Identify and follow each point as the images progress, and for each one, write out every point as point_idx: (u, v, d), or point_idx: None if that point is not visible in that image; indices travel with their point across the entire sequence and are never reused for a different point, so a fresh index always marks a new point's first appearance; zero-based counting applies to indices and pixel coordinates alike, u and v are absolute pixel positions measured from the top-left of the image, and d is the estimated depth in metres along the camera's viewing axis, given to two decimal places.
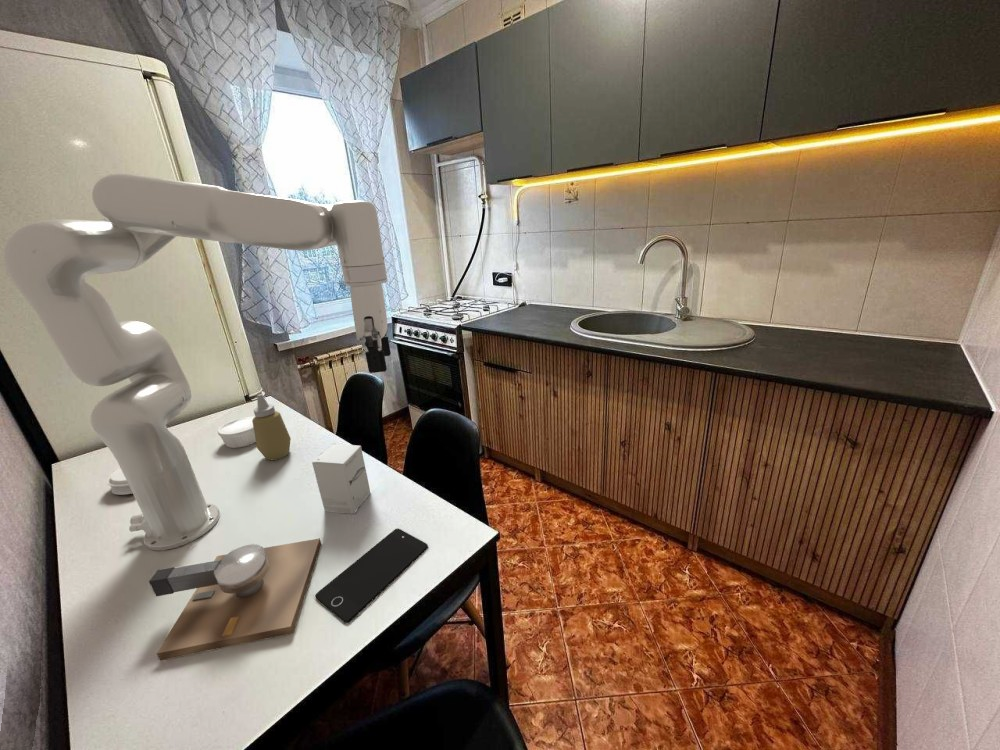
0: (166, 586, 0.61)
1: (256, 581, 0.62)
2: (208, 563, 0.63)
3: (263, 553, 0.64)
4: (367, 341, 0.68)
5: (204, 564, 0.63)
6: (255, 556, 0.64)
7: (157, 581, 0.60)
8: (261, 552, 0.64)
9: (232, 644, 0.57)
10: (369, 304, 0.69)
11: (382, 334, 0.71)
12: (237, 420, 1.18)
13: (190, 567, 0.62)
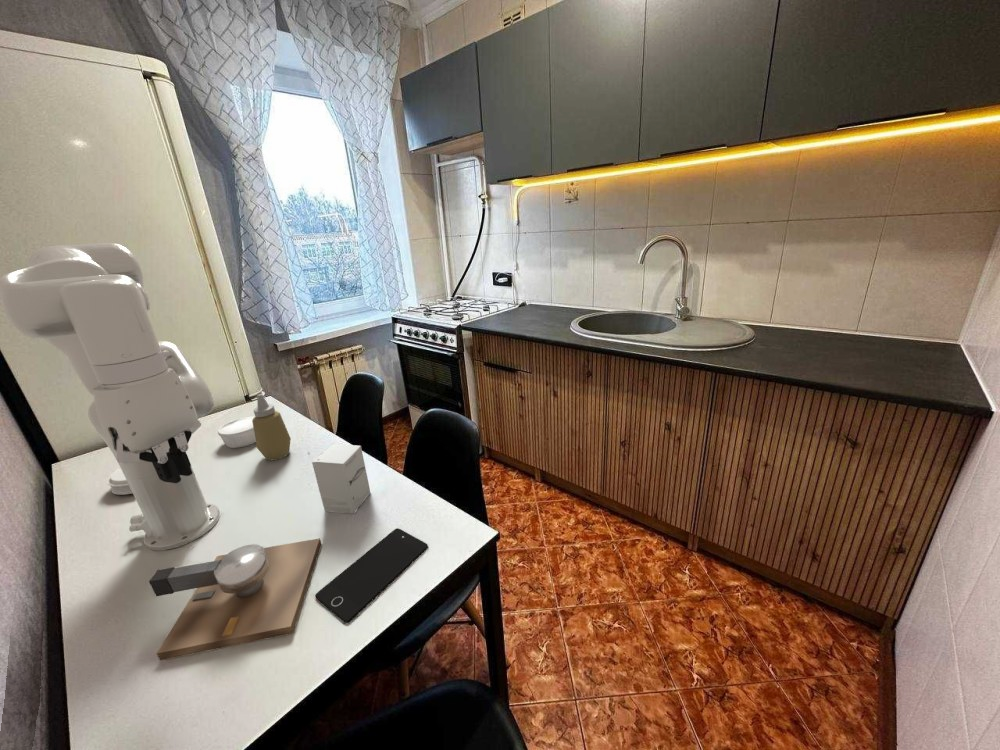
0: (166, 586, 0.61)
1: (256, 581, 0.62)
2: (208, 563, 0.63)
3: (263, 553, 0.64)
4: None
5: (204, 564, 0.63)
6: (255, 556, 0.64)
7: (157, 581, 0.60)
8: (261, 552, 0.64)
9: (232, 644, 0.57)
10: (109, 413, 0.52)
11: (135, 449, 0.54)
12: (237, 420, 1.18)
13: (190, 567, 0.62)
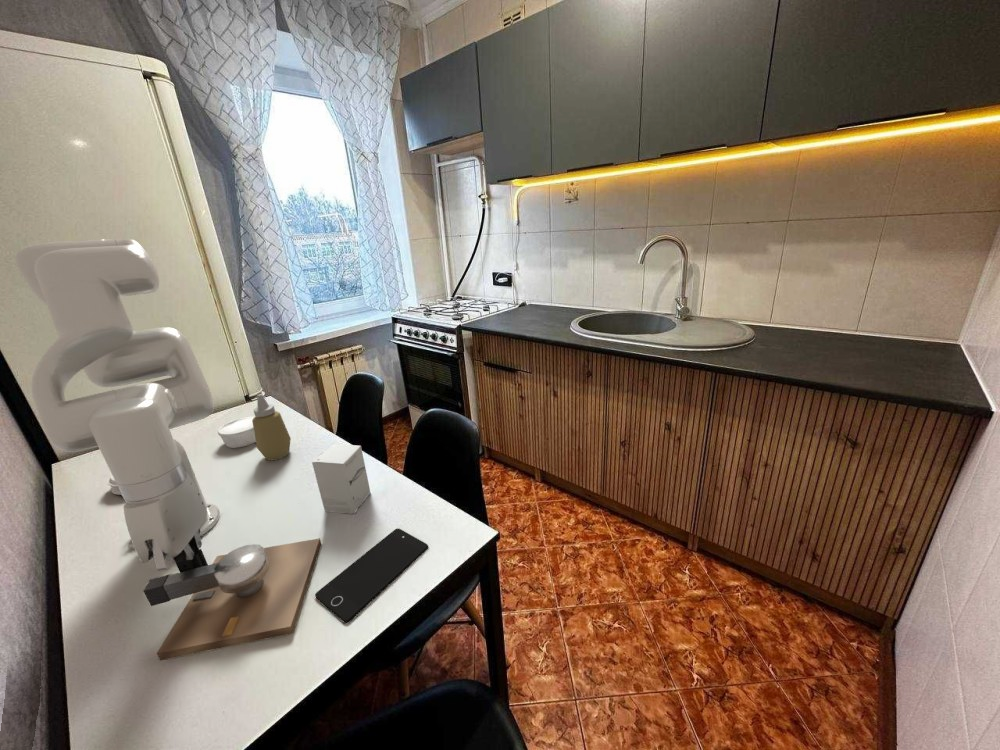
0: (162, 595, 0.60)
1: (259, 579, 0.63)
2: (205, 567, 0.62)
3: (263, 551, 0.65)
4: None
5: (201, 568, 0.62)
6: (255, 555, 0.64)
7: (152, 590, 0.59)
8: (261, 551, 0.65)
9: (232, 644, 0.57)
10: (149, 526, 0.55)
11: (174, 554, 0.58)
12: (237, 420, 1.18)
13: (186, 573, 0.61)
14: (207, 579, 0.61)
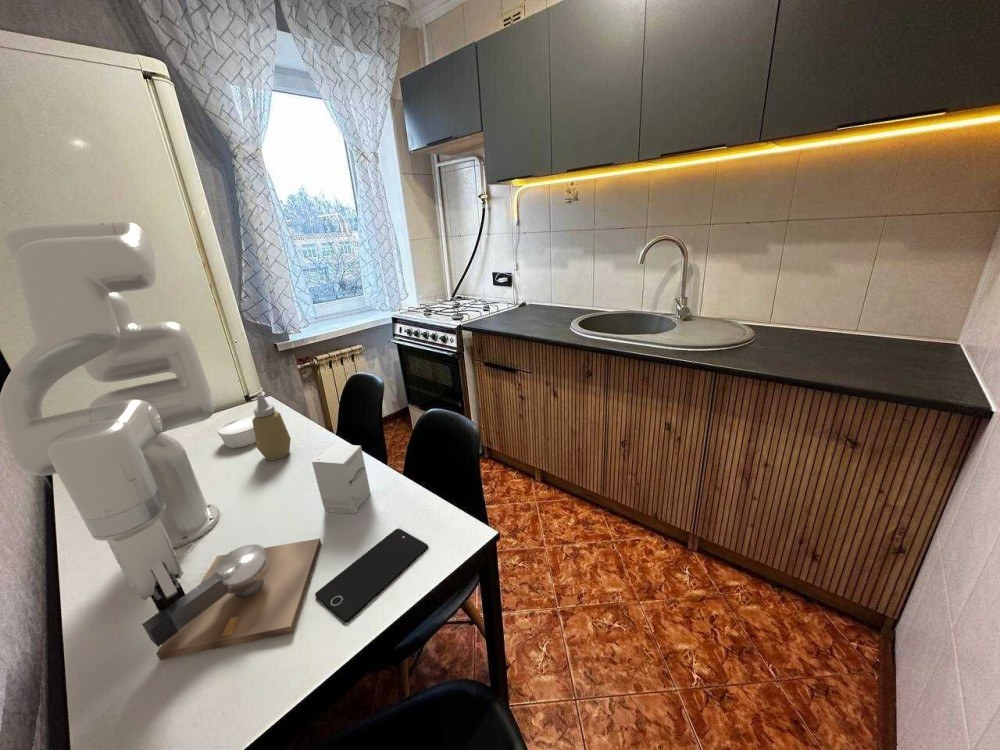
0: (170, 627, 0.55)
1: (268, 566, 0.65)
2: (204, 582, 0.59)
3: (256, 545, 0.66)
4: None
5: (200, 585, 0.59)
6: (251, 550, 0.65)
7: (159, 625, 0.53)
8: (254, 546, 0.66)
9: (232, 644, 0.57)
10: (156, 549, 0.51)
11: (182, 573, 0.55)
12: (237, 420, 1.18)
13: (186, 597, 0.57)
14: (215, 590, 0.59)
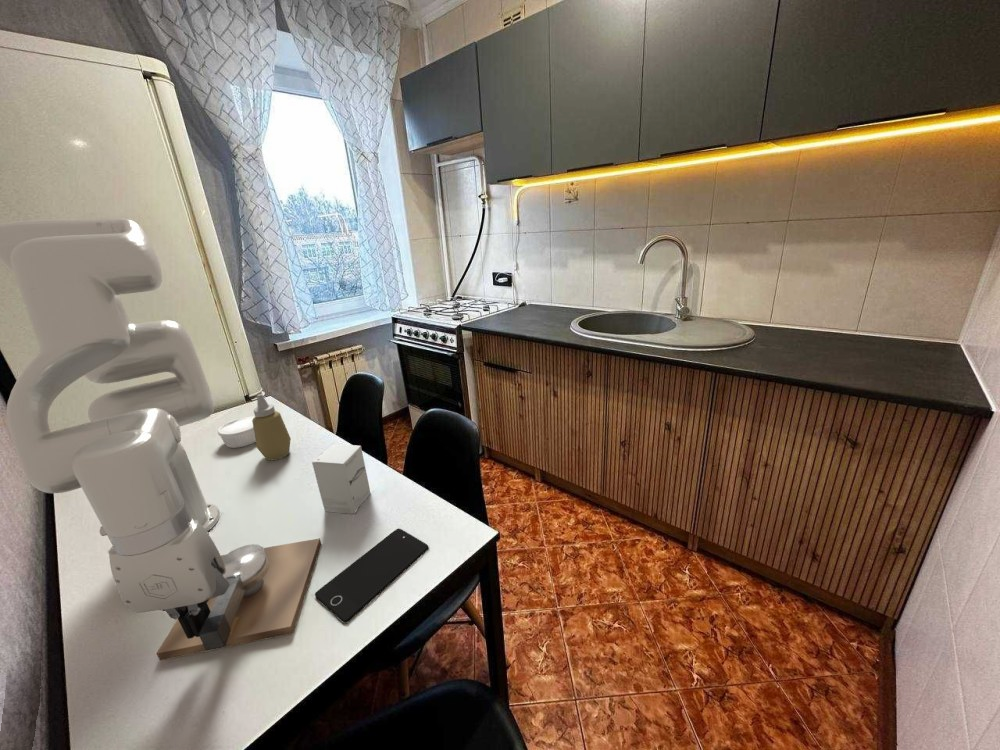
0: (226, 626, 0.54)
1: None
2: None
3: (240, 547, 0.66)
4: None
5: None
6: (241, 551, 0.65)
7: (221, 624, 0.53)
8: (239, 549, 0.65)
9: (232, 644, 0.57)
10: (208, 544, 0.52)
11: (224, 568, 0.55)
12: (237, 420, 1.18)
13: (219, 601, 0.56)
14: (239, 587, 0.60)
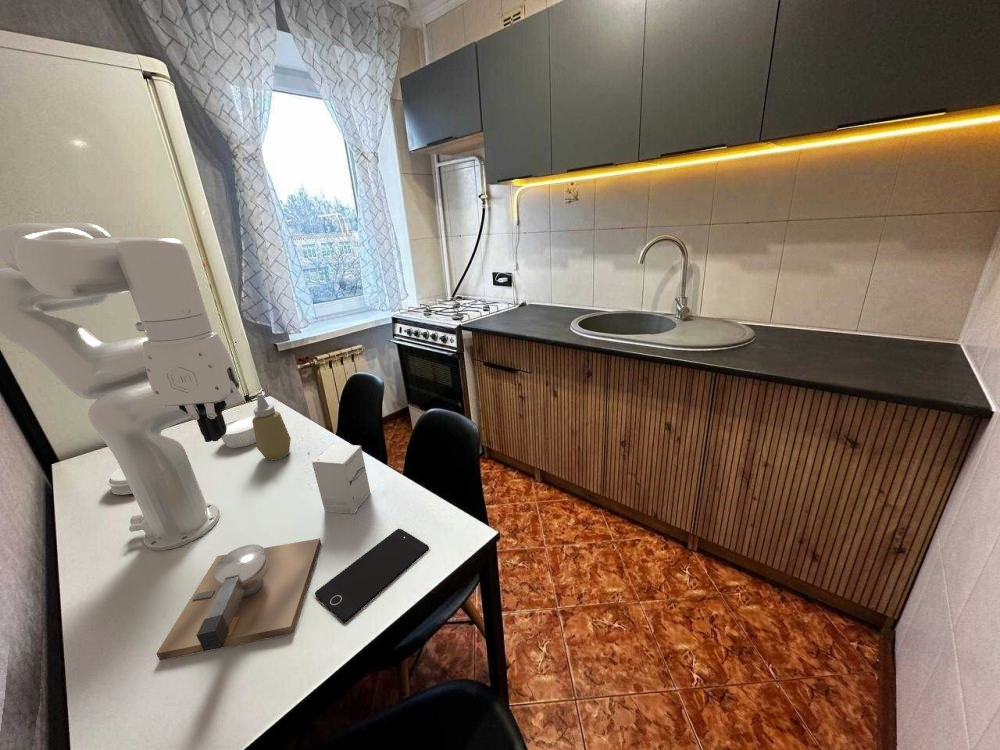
0: (224, 627, 0.54)
1: None
2: (223, 587, 0.58)
3: (241, 547, 0.66)
4: (230, 404, 0.62)
5: (222, 590, 0.58)
6: (241, 551, 0.65)
7: (219, 624, 0.53)
8: (239, 549, 0.66)
9: (232, 644, 0.57)
10: (225, 354, 0.60)
11: None
12: (237, 420, 1.18)
13: (218, 601, 0.56)
14: (238, 587, 0.60)
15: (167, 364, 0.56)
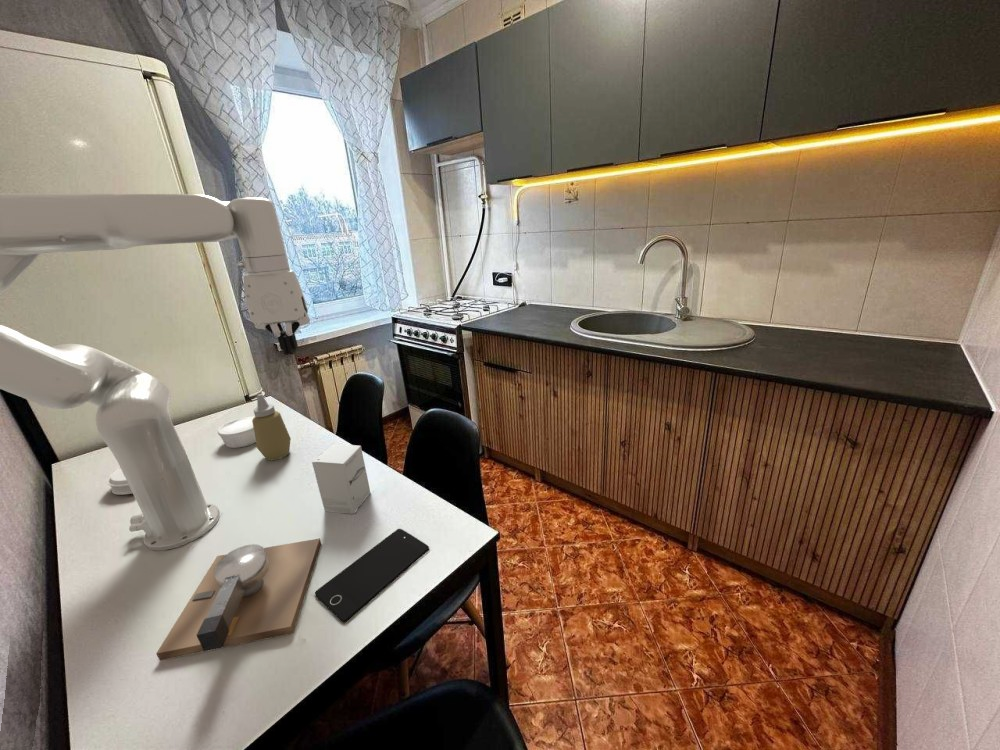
0: (224, 627, 0.54)
1: None
2: (223, 587, 0.58)
3: (241, 547, 0.66)
4: (302, 325, 0.83)
5: (222, 590, 0.58)
6: (241, 551, 0.65)
7: (219, 624, 0.53)
8: (239, 549, 0.66)
9: (232, 644, 0.57)
10: (299, 286, 0.81)
11: (306, 311, 0.84)
12: (237, 420, 1.18)
13: (218, 601, 0.56)
14: (238, 587, 0.60)
15: (261, 291, 0.77)
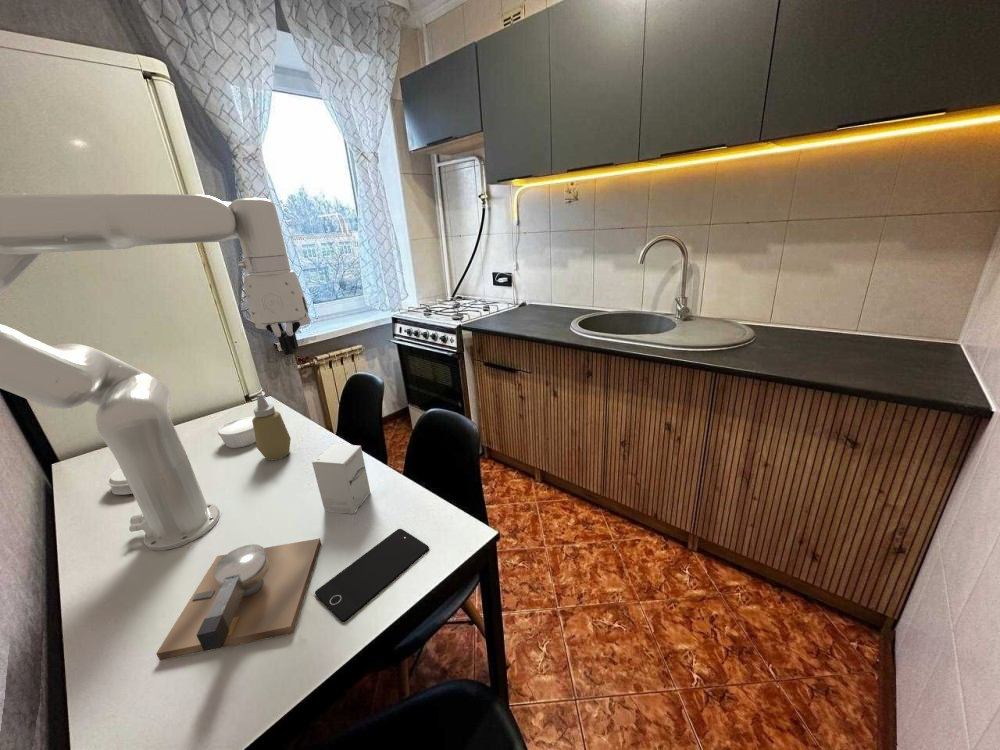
0: (224, 627, 0.54)
1: None
2: (223, 587, 0.58)
3: (241, 547, 0.66)
4: None
5: (222, 590, 0.58)
6: (241, 551, 0.65)
7: (219, 624, 0.53)
8: (239, 549, 0.66)
9: (232, 644, 0.57)
10: (300, 286, 0.81)
11: (306, 312, 0.85)
12: (237, 420, 1.18)
13: (218, 601, 0.56)
14: (238, 587, 0.60)
15: (262, 291, 0.77)
